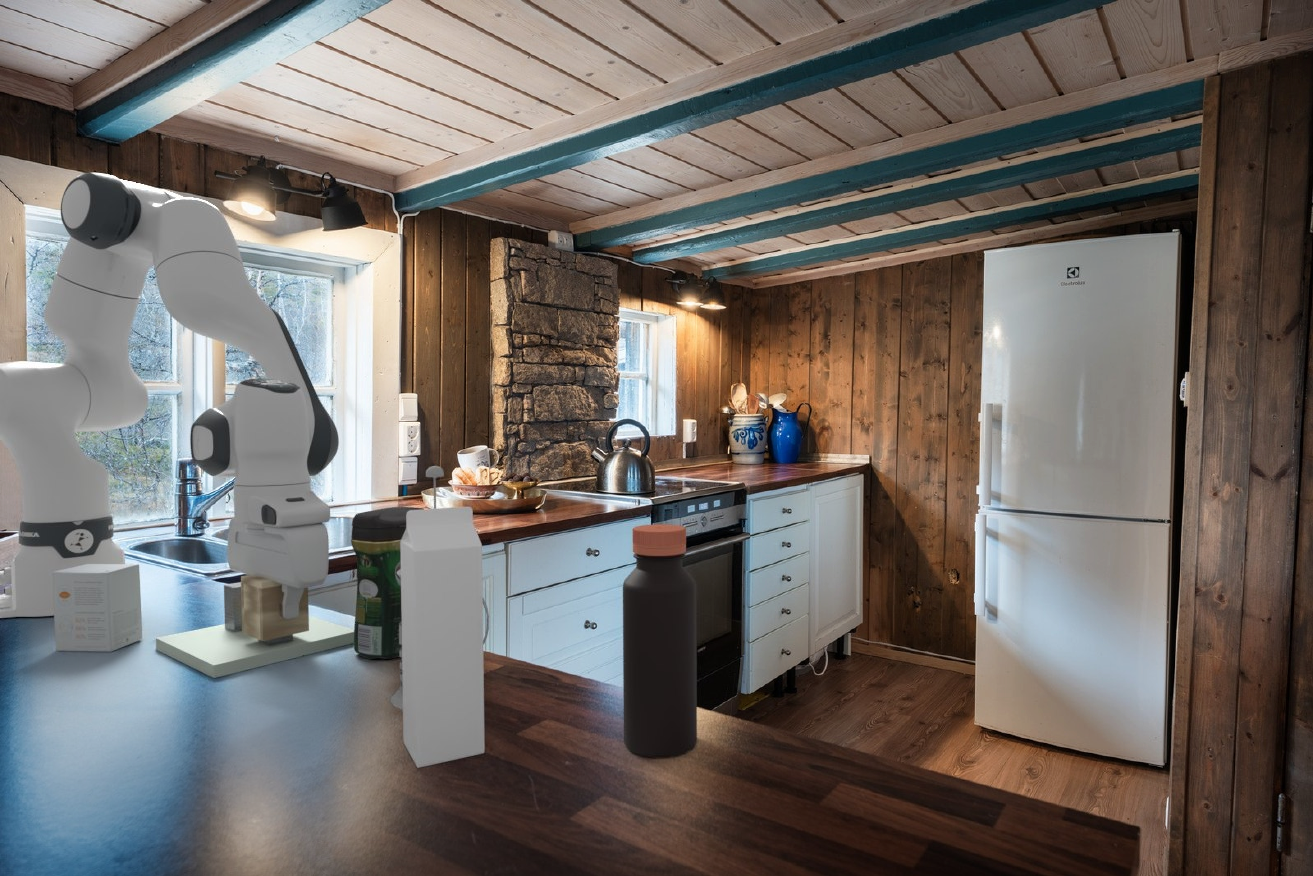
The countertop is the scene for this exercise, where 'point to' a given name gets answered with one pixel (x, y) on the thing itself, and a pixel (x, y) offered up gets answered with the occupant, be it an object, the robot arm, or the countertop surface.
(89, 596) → the small box
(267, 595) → the wood grain cuboid
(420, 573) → the milk
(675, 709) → the bottle
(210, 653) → the board
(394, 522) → the coffee jar
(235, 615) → the post
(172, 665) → the countertop surface
